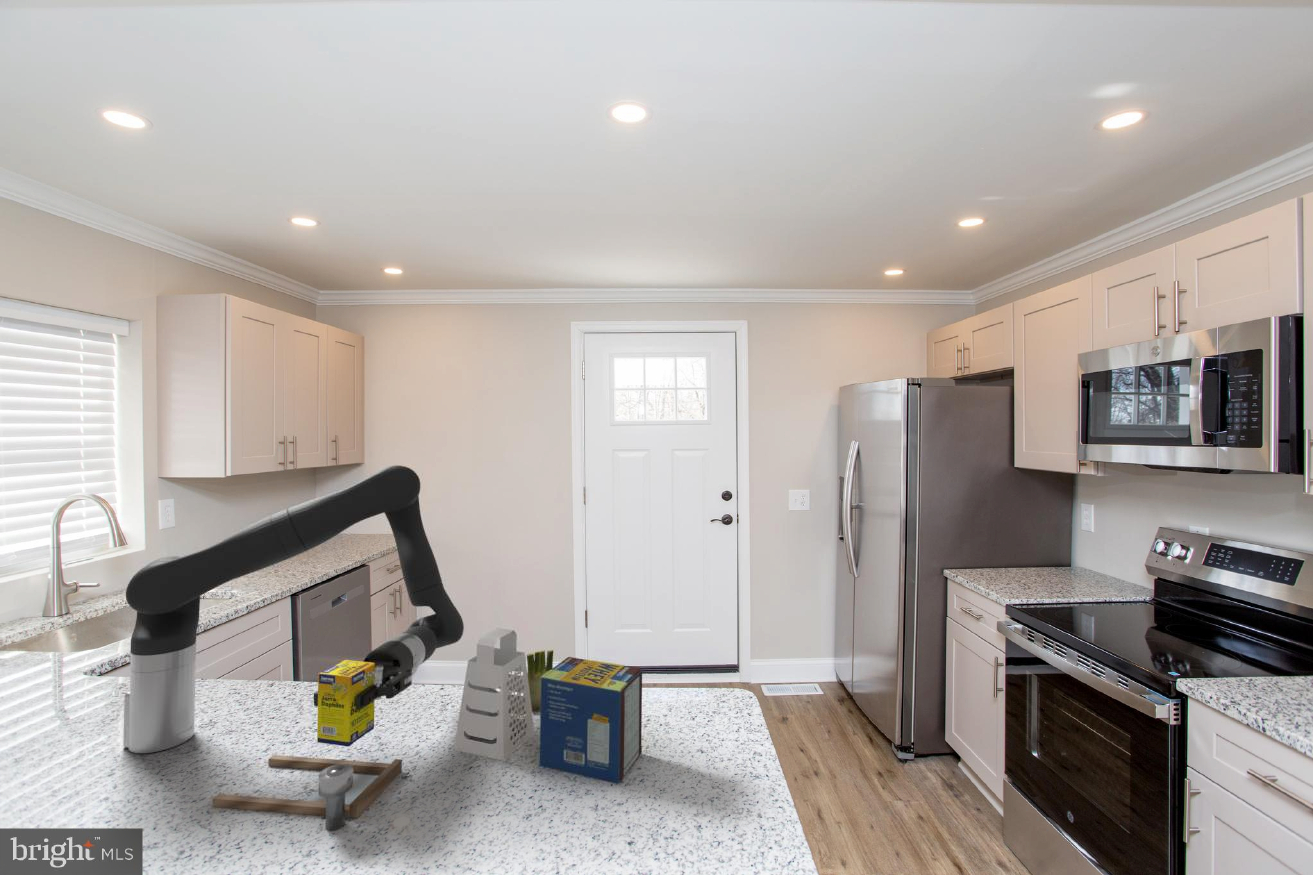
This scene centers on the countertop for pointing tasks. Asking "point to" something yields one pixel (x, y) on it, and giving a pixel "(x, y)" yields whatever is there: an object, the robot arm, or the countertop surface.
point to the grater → (495, 698)
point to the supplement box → (344, 703)
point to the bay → (355, 799)
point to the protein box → (591, 718)
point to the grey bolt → (335, 793)
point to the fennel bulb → (537, 674)
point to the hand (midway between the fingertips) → (337, 701)
